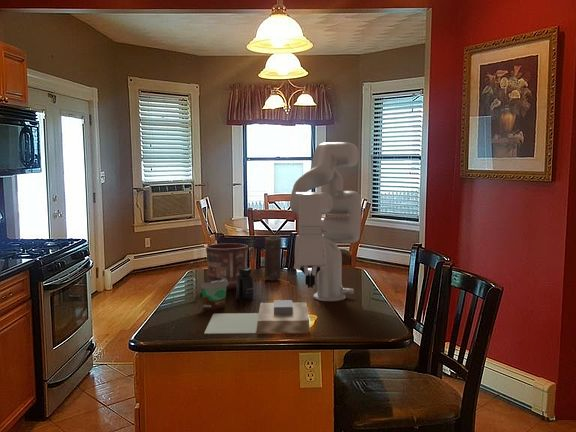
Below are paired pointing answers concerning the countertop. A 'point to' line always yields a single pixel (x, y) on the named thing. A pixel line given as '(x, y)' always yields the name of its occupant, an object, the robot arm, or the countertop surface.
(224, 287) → the food container
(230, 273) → the pottery
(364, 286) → the countertop surface
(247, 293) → the supplement bottle
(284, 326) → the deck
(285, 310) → the grey flat block
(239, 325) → the mat
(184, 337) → the countertop surface
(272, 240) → the candle
